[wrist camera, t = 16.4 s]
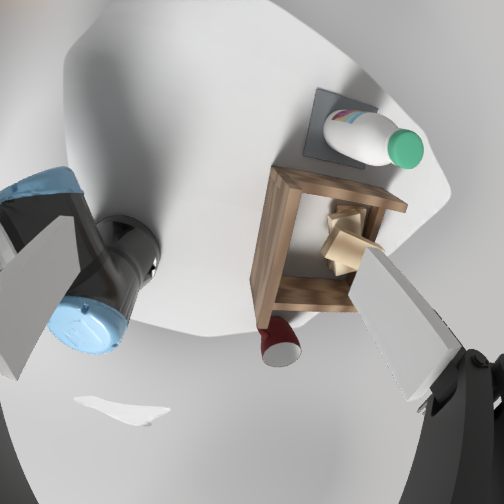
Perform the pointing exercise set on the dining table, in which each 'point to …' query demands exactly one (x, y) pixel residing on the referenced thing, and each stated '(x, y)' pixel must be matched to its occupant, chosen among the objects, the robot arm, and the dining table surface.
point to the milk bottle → (372, 139)
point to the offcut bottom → (362, 219)
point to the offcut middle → (350, 223)
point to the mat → (315, 137)
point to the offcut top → (346, 247)
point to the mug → (279, 343)
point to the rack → (279, 235)
